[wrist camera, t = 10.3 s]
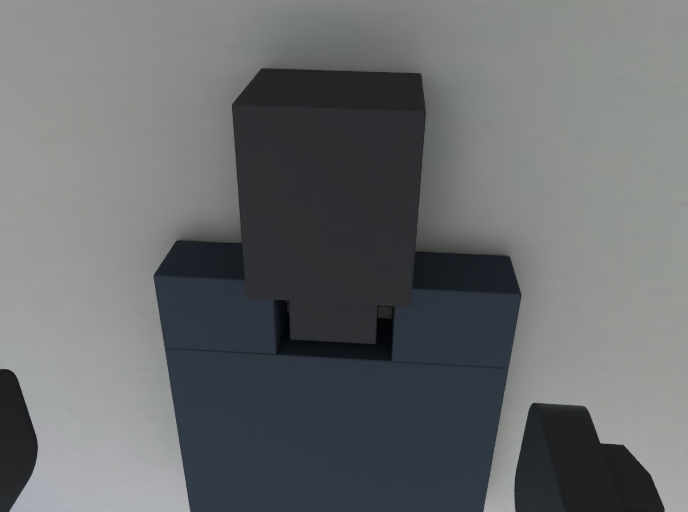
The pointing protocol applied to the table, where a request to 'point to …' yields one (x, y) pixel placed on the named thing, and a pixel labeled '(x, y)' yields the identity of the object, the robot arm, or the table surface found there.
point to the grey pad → (336, 390)
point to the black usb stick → (330, 195)
